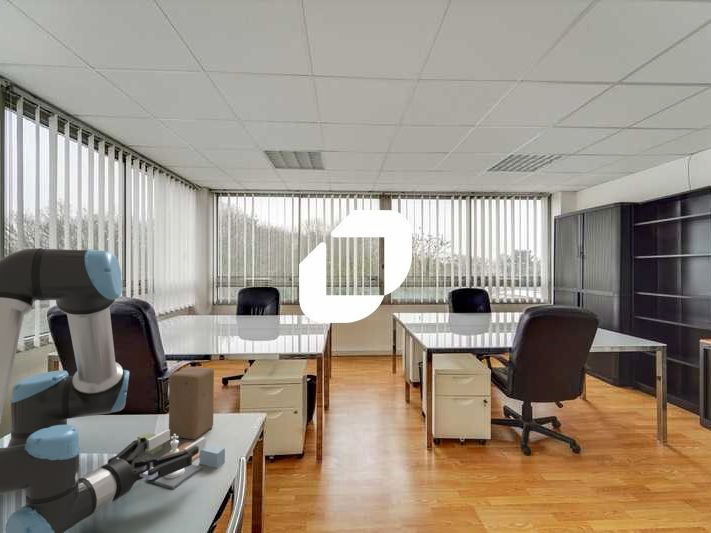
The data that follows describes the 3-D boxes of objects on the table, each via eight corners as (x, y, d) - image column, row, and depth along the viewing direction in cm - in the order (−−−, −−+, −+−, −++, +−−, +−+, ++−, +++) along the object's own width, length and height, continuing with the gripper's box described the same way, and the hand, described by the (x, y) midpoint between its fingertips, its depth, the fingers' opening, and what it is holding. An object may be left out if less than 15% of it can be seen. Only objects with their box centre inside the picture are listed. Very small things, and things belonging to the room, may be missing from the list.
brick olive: (137, 450, 104) (137, 436, 104) (146, 445, 107) (146, 432, 107) (152, 454, 102) (152, 440, 102) (161, 449, 105) (161, 435, 105)
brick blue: (199, 464, 98) (199, 449, 98) (207, 458, 100) (207, 444, 100) (217, 468, 96) (217, 453, 96) (224, 462, 98) (224, 448, 98)
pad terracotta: (161, 458, 100) (161, 456, 100) (186, 443, 108) (186, 441, 108) (186, 465, 97) (186, 463, 97) (210, 449, 105) (210, 447, 105)
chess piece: (182, 476, 90) (183, 437, 90) (161, 479, 89) (161, 440, 89) (186, 466, 95) (186, 428, 95) (165, 468, 94) (166, 431, 94)
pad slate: (146, 480, 89) (146, 478, 89) (175, 462, 98) (175, 460, 98) (173, 489, 86) (173, 486, 86) (201, 469, 95) (201, 467, 95)
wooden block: (195, 441, 110) (196, 376, 110) (167, 437, 112) (168, 374, 112) (214, 426, 120) (215, 367, 120) (188, 423, 122) (189, 365, 122)
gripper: (67, 489, 79) (152, 444, 100) (146, 516, 71) (222, 461, 92) (67, 456, 79) (153, 417, 100) (147, 479, 71) (222, 432, 92)
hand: (186, 438), depth 96 cm, fingers open, 11 cm apart
